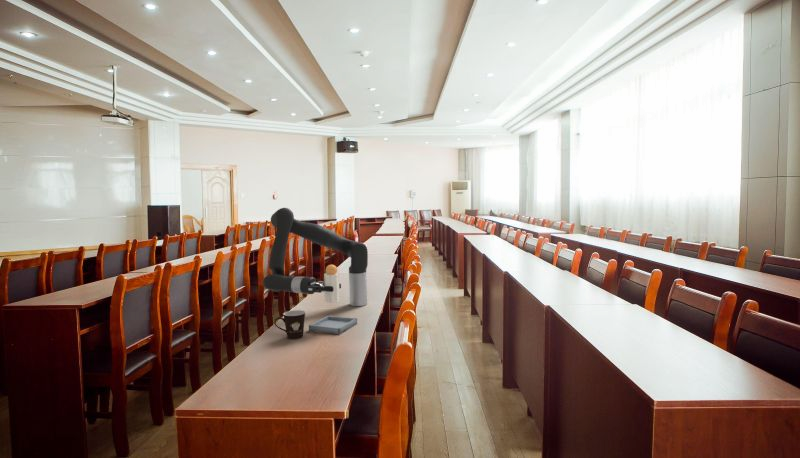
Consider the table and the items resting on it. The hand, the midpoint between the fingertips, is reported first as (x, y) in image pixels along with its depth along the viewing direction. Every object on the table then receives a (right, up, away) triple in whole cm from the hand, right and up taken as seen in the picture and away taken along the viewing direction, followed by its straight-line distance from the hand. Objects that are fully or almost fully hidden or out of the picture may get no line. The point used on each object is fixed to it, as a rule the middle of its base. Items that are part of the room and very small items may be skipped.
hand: (336, 287), depth 191 cm
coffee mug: (-17, -19, -10) cm, 28 cm away
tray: (-2, -18, +2) cm, 18 cm away
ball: (-2, +8, 0) cm, 8 cm away
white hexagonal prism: (-2, -6, +1) cm, 6 cm away
